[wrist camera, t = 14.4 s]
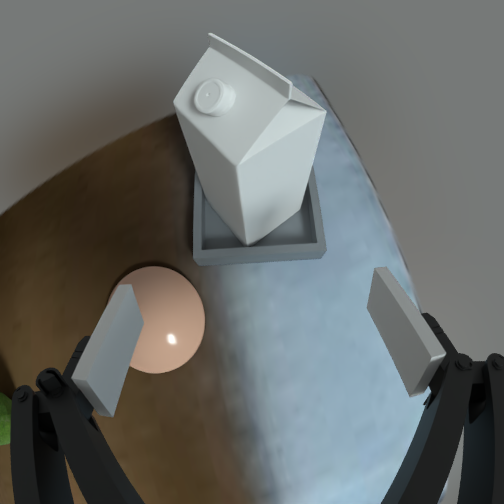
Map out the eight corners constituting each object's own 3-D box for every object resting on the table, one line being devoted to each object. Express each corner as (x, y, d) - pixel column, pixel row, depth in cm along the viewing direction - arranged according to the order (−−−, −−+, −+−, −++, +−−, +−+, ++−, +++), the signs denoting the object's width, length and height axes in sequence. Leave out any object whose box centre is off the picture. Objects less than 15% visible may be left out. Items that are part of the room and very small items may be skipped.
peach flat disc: (93, 333, 28) (89, 332, 27) (141, 250, 31) (138, 248, 30) (171, 392, 26) (169, 394, 25) (226, 302, 29) (225, 301, 28)
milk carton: (258, 166, 32) (254, 16, 14) (300, 210, 31) (339, 62, 12) (206, 201, 31) (156, 57, 13) (247, 250, 29) (229, 116, 11)
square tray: (198, 265, 30) (193, 258, 27) (200, 163, 34) (196, 150, 31) (320, 258, 30) (326, 250, 27) (305, 157, 34) (308, 143, 31)
